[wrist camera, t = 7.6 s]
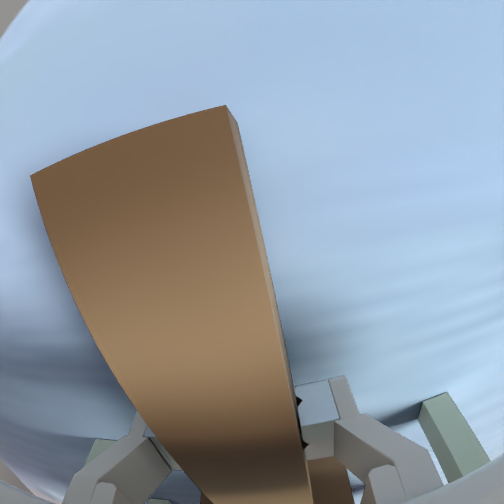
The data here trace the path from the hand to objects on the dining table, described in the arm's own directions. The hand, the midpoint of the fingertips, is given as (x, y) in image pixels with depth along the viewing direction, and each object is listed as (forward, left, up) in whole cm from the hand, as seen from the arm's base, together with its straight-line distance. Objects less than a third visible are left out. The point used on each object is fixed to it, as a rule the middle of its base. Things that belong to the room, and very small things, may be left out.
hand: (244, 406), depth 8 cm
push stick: (+1, 0, -2) cm, 2 cm away
